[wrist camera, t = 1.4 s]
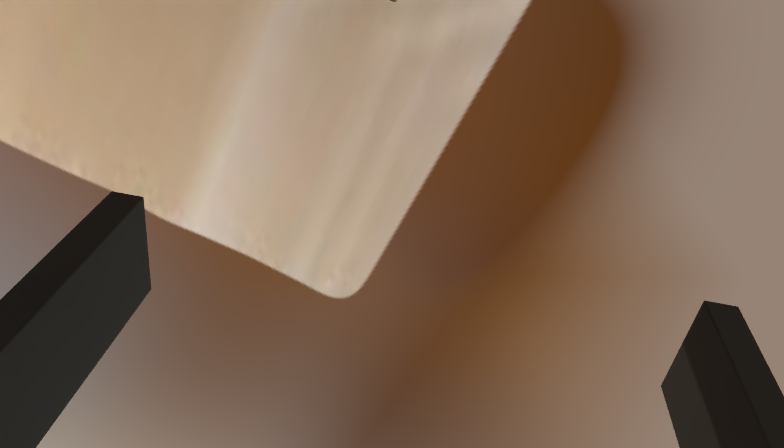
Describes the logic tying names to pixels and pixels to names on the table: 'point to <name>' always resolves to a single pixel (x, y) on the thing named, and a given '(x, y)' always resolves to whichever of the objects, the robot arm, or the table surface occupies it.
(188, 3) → the table surface
